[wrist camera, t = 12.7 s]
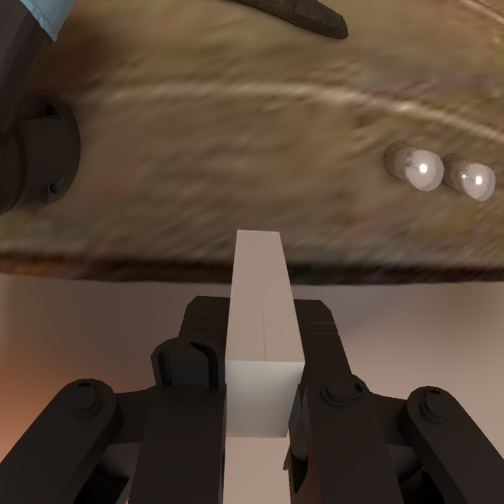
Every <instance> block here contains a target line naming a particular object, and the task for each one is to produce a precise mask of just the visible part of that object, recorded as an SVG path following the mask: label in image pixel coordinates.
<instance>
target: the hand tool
mask: <svg viewBox="0 0 504 504" xmlns="http://www.w3.org/2000/svg"><path fill="white" fill-rule="evenodd" d="M237 1H241V2H244V3H247V4H250V5H252V6H255V7H258V8H260V9H263V10H265V11H268V12H270V13H273V14H276V15H278V16H280V17H282V18H285V19H287V20H289V21H290V22H292V23H293V24H294V25H296V26H299V27H301V28H304V29H307V30H310V31H314V32H317V33H320V34H324V35H327V36H332V37H336V38H340V39H344V38H346V37H347V36H348V30H347V26H346V23H345V20H344V19H343V16H341V15H339V14H338V13H336V12H335V11H333V10H332V9H330V8H328V7H326V6H325V5H323V4H322V3H320V2H319V1H317V0H237Z"/></svg>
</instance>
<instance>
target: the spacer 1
mask: <svg viewBox="0 0 504 504" xmlns="http://www.w3.org/2000/svg"><path fill="white" fill-rule="evenodd" d="M384 163H385V166H386V168H387V170H388V171H389V172H390V173H391V174H393V175H395V176H397V177H399V178H401V179H402V180H404V181H406V182H408V183H409V184H411V185H413V186H415V187H416V188H418V189H420V190H422V191H431V190H433V189H435V188H436V187H437V186H438V185H439V184H440V182H441V180H442V178H443V173H444V168H443V163H442V161H441V159H440V158H439V157H438V156H437V155H436V154H434V153H432V152H429V151H426V150H423V149H420V148H417V147H414V146H411V145H407V144H404V143H394V144H392V145H390V146H389V147H388V149H387V150H386V152H385V155H384Z"/></svg>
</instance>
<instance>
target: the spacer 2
mask: <svg viewBox="0 0 504 504" xmlns="http://www.w3.org/2000/svg"><path fill="white" fill-rule="evenodd" d="M442 163H443V168H444V173H443V178H442V181H443V182H444V183H446V184H448V185H450V186H452V187H454V188H456V189H458V190H460V191H462V192H464V193H465V194H467V195H469V196H471V197H473V198H475V199H477V200H479V201H484V200H487V199H488V198H489V197H490V196H491V195H492V193H493V191H494V188H495V175H494V173H493V171H492V169H491V168H489V167H487V166H485V165H482V164H480V163H477V162H474V161H471V160H469V159H466V158H463V157H460V156H457V155H454V154H449V155H447V156H445V157H444V158H443V159H442Z"/></svg>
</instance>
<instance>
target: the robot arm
mask: <svg viewBox="0 0 504 504" xmlns="http://www.w3.org/2000/svg"><path fill="white" fill-rule="evenodd" d="M75 1H76V0H0V216H1V215H3V214H4V213H6V212H8V211H14V210H33V209H38V208H41V207H44V206H46V205H48V204H49V203H51V202H53V201H54V200H56V199H58V198H59V197H60V196H61V195H62V194H63V193H64V192H65V191H66V190H67V189H68V187H69V186H70V184H71V182H72V180H73V178H74V176H75V173H76V171H77V167H78V163H79V156H80V138H79V132H78V127H77V124H76V121H75V119H74V116H73V114H72V113H71V111H70V109H69V108H68V106H67V105H66V104H65V103H64V102H63V101H62V100H61V99H60V98H58V97H57V96H55V95H53V94H51V93H48V92H43V91H34V92H28V90H29V88H30V86H31V84H32V81H33V79H34V77H35V75H36V73H37V71H38V69H39V67H40V65H41V63H42V61H43V60H44V58H45V56H46V54H47V52H48V51H49V49H50V47H51V45H52V44H53V42H54V43H55V42H56V40H57V38H58V36H57V35H58V33H59V31H60V29H61V27H62V25H63V23H64V22H65V20H66V18H67V16H68V15H69V13H70V11H71V10H72V8H73V6H74V4H75ZM151 360H152V366H153V371H154V376H155V381H156V385H155V386H152V387H150V388H148V389H145V390H140V391H136V392H126V393H116V394H115V393H114V392H113V390H112V388H111V387H110V386H108V385H107V384H105V383H104V382H102V381H99V380H95V379H79V380H76V381H74V382H72V383H69V384H67V385H66V386H65V387H64V388H63V389H61V390H60V391H59V392H58V393H57V395H56V396H55V397H54V398H53V399H52V401H51V402H50V403H49V404H48V405H47V406H46V408H45V409H44V410H43V411H42V412H41V413H40V415H39V416H38V417H37V418H36V420H35V421H34V422H33V423H32V424H31V426H30V427H29V428H28V429H27V430H26V432H25V433H24V434H23V435H22V437H21V438H20V439H19V440H18V442H17V443H16V444H15V445H14V447H13V448H12V449H11V450H10V452H9V453H8V454H7V455H6V457H5V458H4V459H3V461H2V462H1V463H0V504H125V503H126V502H127V500H128V504H223V488H224V469H225V439H226V436H235V437H272V438H275V437H286V436H287V432H288V429H289V435H290V446H289V449H288V452H287V456H286V459H285V462H284V467H283V470H288V473H289V486H290V498H291V499H290V500H291V504H504V459H503V458H502V457H501V455H500V454H499V453H498V451H497V450H496V449H495V447H494V446H493V445H492V444H491V442H490V441H489V440H488V438H487V437H486V436H485V435H484V433H483V432H482V431H481V430H480V428H479V427H478V426H477V425H476V423H475V422H474V421H473V420H472V418H471V417H470V416H469V415H468V414H467V412H466V411H465V410H464V409H463V407H462V406H461V405H460V404H459V402H458V401H457V400H456V399H455V398H454V397H453V396H452V395H451V394H449V393H448V392H447V391H445V390H443V389H441V388H438V387H432V386H425V387H419V388H417V389H416V390H414V391H413V392H411V394H410V396H409V397H408V399H407V400H404V399H397V398H392V397H386V396H381V395H378V394H374V393H372V392H370V391H369V389H368V388H367V386H366V384H365V383H364V382H363V381H362V380H361V379H360V378H358V377H357V376H356V375H353V374H352V373H351V370H350V367H349V364H348V361H347V357H346V354H345V351H344V348H343V345H342V343H341V340H340V336H339V335H338V331H337V328H336V325H335V322H334V319H333V316H332V313H331V310H330V309H328V307H327V306H326V305H324V303H323V302H322V301H320V300H300V299H298V300H297V299H293V297H292V292H291V287H290V282H289V277H288V272H287V268H286V263H285V258H284V253H283V249H282V244H281V239H280V234H279V232H270V231H252V230H237V239H236V249H235V258H234V268H233V279H232V289H231V298H225V297H209V296H197V297H195V298H194V299H193V300H192V301H191V302H190V303H189V304H188V305H187V307H186V311H185V314H184V320H183V321H182V325H181V330H180V332H179V336H178V337H176V338H173V339H169V340H166V341H165V342H163V343H162V344H160V345H159V346H157V347H156V349H155V350H154V352H153V353H152V355H151ZM128 498H129V499H128Z"/></svg>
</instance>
